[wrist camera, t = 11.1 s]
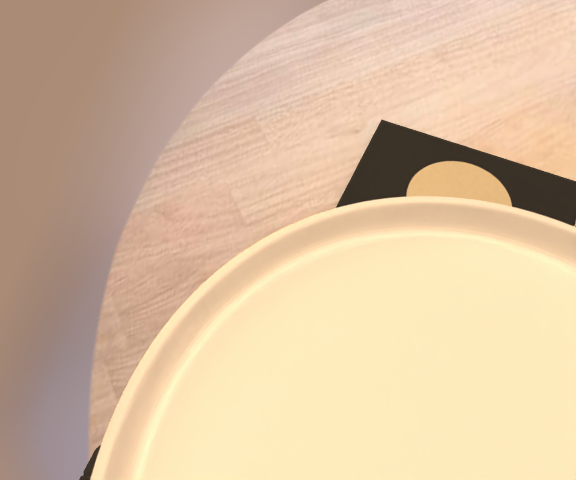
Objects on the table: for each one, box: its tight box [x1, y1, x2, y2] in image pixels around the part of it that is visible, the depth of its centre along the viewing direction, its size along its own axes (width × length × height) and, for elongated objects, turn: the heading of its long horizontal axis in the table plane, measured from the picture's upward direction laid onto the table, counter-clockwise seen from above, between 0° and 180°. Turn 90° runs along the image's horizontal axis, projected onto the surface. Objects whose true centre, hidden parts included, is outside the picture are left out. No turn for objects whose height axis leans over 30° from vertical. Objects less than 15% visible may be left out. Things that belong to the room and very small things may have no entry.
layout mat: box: [336, 120, 576, 226], centre depth 36 cm, size 16×11×1 cm
